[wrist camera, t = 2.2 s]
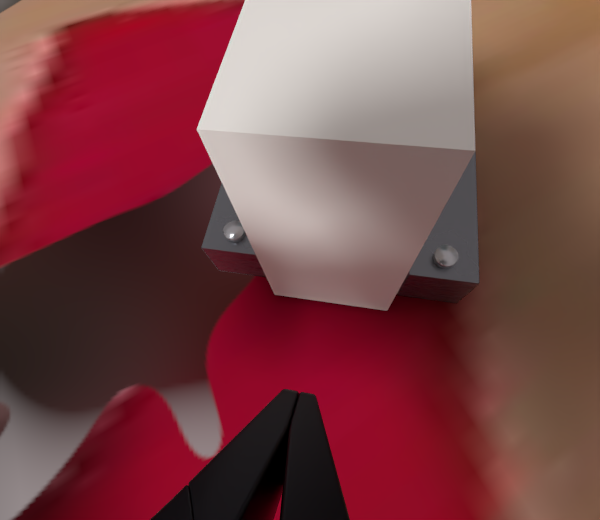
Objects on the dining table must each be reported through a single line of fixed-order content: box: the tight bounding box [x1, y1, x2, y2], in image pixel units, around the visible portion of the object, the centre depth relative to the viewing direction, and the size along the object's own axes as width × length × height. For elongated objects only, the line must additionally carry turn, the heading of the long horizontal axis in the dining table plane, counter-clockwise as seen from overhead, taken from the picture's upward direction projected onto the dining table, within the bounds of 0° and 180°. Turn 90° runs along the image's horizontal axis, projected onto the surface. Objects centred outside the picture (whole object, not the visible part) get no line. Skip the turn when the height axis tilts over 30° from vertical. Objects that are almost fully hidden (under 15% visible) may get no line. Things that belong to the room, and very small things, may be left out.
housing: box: [201, 120, 479, 303], centre depth 19 cm, size 10×13×3 cm
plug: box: [197, 0, 475, 311], centre depth 14 cm, size 7×6×12 cm
